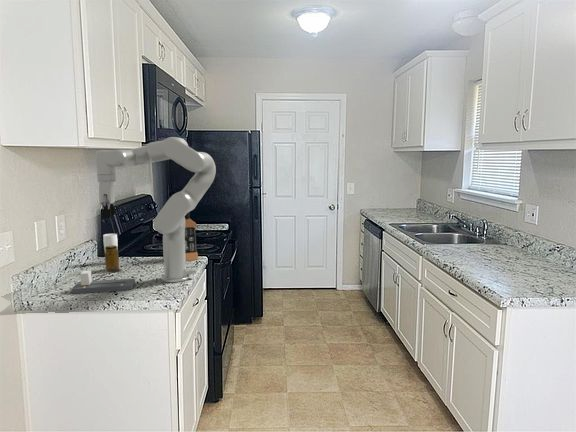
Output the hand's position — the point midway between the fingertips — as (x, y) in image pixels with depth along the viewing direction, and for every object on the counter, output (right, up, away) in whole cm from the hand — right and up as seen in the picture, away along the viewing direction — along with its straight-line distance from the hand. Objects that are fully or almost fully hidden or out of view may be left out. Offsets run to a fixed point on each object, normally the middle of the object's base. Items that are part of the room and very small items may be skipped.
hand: (109, 216), depth 187 cm
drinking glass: (-11, -24, +30) cm, 40 cm away
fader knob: (-4, -28, -13) cm, 31 cm away
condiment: (-5, -27, +16) cm, 31 cm away
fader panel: (+3, -30, -11) cm, 32 cm away
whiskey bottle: (+26, -23, +39) cm, 52 cm away
